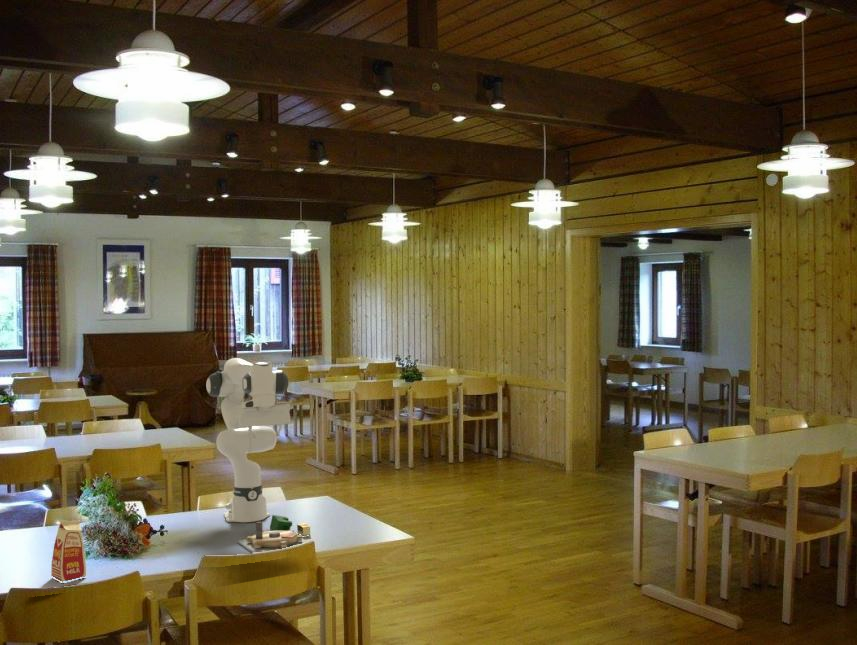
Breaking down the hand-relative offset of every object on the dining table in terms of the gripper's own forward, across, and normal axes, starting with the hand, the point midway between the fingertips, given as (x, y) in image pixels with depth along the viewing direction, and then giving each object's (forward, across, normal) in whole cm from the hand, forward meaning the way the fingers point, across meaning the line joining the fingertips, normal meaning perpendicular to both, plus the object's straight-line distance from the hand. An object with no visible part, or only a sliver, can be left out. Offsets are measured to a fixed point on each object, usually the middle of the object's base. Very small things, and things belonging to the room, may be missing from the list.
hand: (265, 437), depth 340 cm
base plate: (+40, 0, +15) cm, 43 cm away
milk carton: (+41, +69, +34) cm, 87 cm away
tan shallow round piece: (+39, 0, +15) cm, 42 cm away
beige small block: (+39, -12, +5) cm, 41 cm away
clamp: (+38, -4, -3) cm, 39 cm away
